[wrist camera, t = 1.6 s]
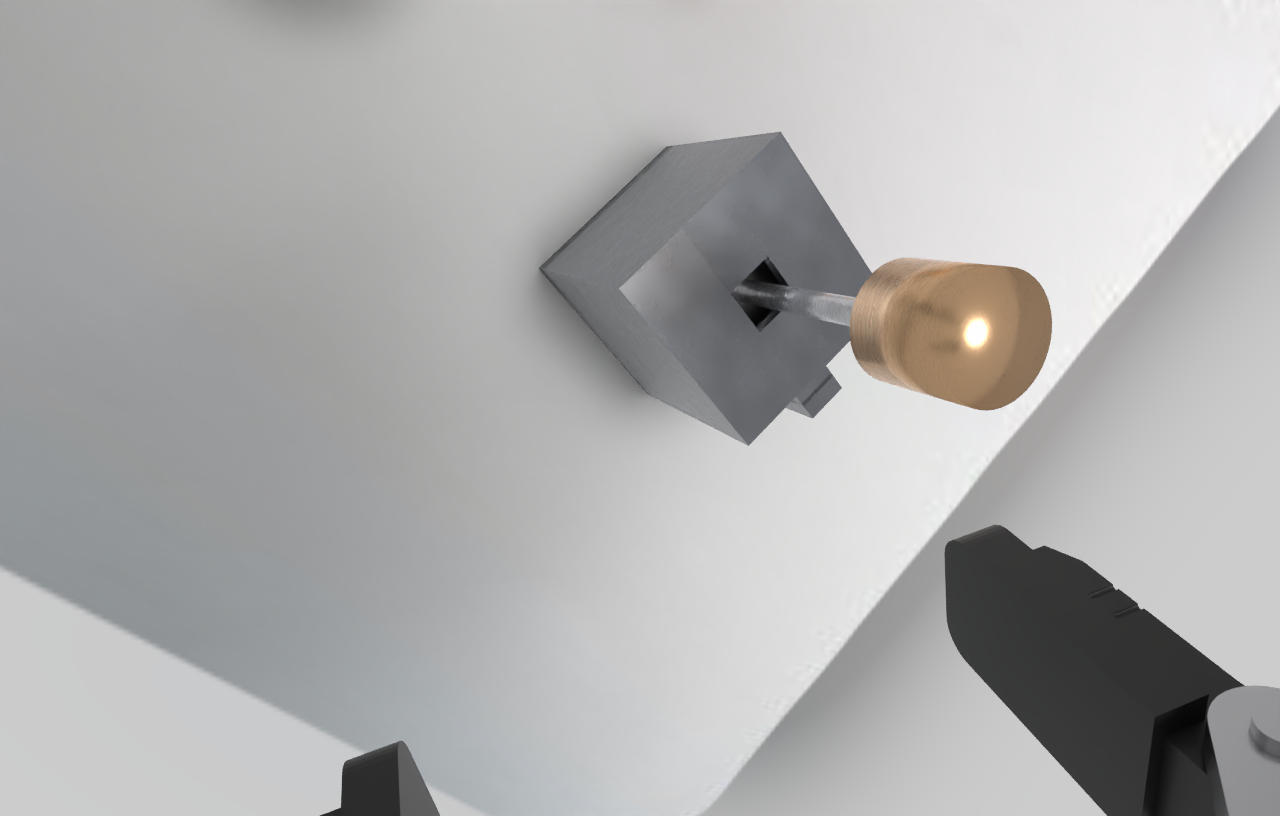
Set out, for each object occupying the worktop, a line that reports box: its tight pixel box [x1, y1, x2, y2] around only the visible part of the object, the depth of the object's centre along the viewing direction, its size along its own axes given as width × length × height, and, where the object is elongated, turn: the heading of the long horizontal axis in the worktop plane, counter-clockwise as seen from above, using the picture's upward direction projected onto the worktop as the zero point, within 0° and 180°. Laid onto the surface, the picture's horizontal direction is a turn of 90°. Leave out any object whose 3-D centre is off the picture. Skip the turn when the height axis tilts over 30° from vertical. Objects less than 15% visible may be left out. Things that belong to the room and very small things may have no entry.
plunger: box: [731, 258, 1052, 410], centre depth 30 cm, size 7×7×15 cm
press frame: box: [539, 132, 872, 446], centre depth 40 cm, size 12×9×11 cm
